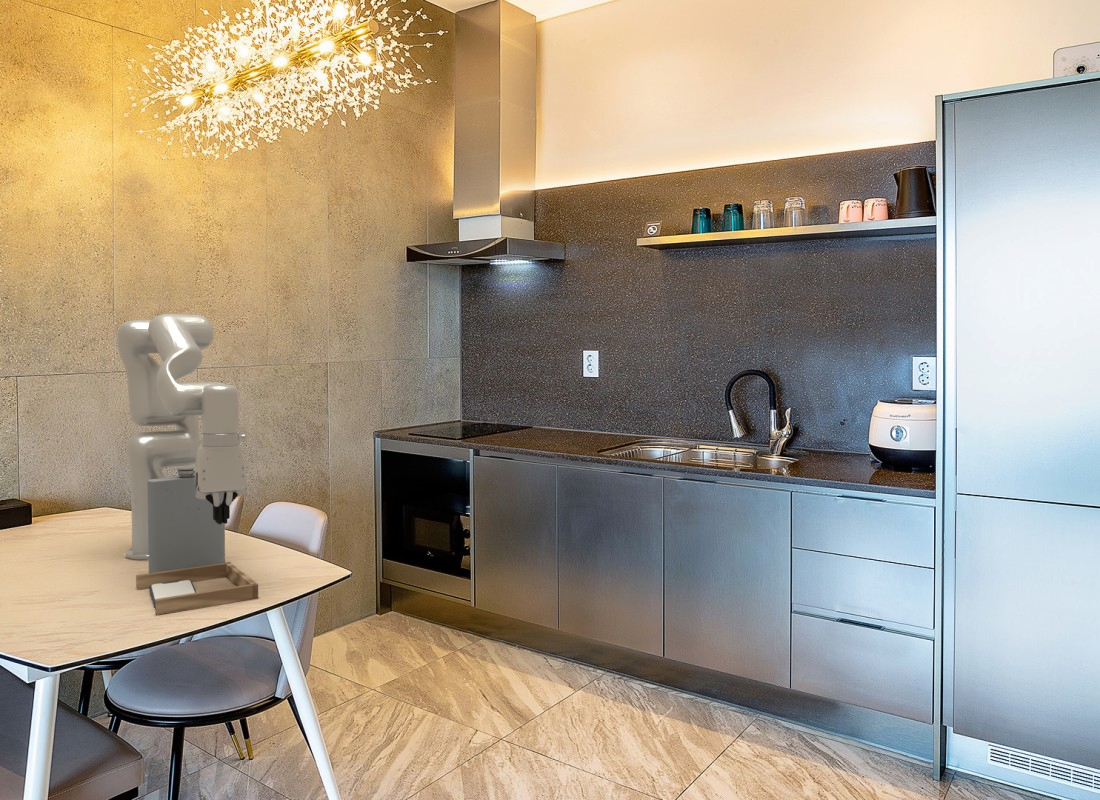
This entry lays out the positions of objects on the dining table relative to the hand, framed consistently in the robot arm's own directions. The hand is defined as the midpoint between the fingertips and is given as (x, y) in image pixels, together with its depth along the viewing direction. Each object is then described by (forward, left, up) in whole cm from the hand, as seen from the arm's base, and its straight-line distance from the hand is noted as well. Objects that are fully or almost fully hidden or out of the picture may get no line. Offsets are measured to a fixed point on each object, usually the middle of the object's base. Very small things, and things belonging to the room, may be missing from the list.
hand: (221, 522), depth 183 cm
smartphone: (0, -10, -16) cm, 19 cm away
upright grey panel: (-21, -3, -15) cm, 26 cm away
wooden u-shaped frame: (0, -5, -15) cm, 16 cm away
